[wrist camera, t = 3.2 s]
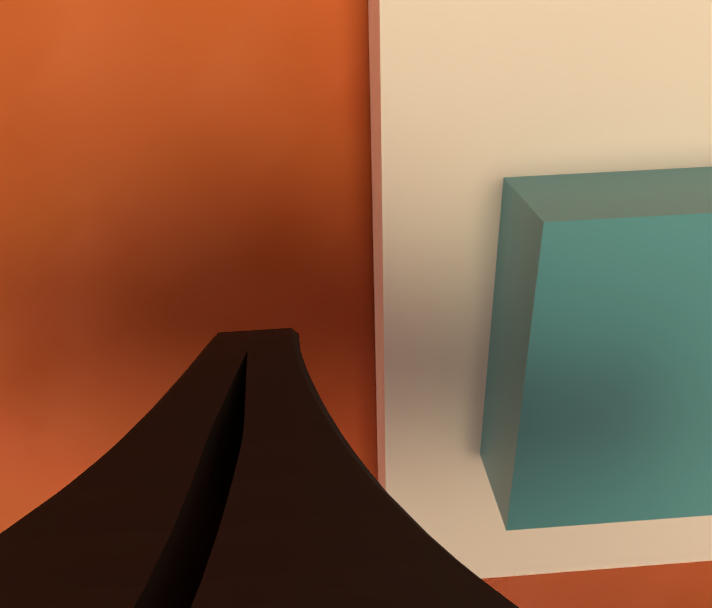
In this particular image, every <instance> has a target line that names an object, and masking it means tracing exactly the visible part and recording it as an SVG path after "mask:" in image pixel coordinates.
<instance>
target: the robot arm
mask: <svg viewBox="0 0 712 608" xmlns="http://www.w3.org/2000/svg"><path fill="white" fill-rule="evenodd" d="M0 608H519V607H517V606H516V605H515V604H513V603H512V602H511V601H509V600H508V599H507V598H505V597H504V596H503V595H501V594H500V593H499V592H497V591H496V590H495V589H493V588H492V587H491V586H489V585H488V584H487V583H485V582H484V581H483V580H482V579H480V578H479V577H478V576H477V575H476V574H474V573H473V572H472V571H471V570H469V569H468V568H467V567H466V566H464V565H463V564H462V563H461V562H459V561H458V560H457V559H456V558H455V557H454V556H453V555H452V554H450V553H449V552H448V551H447V550H446V549H445V548H444V547H442V546H441V545H440V544H439V543H438V542H437V541H436V540H435V539H433V538H432V537H431V536H430V535H429V534H428V533H427V532H426V531H425V530H424V529H423V528H422V527H421V526H420V525H419V524H418V523H417V522H416V521H415V520H414V519H413V518H412V517H411V516H410V515H409V514H408V513H407V512H406V511H405V510H404V509H403V508H402V507H401V506H400V505H399V504H398V503H397V502H396V501H395V500H394V499H393V498H392V497H391V496H390V495H389V494H388V493H387V491H386V490H385V489H384V488H383V487H382V486H381V484H380V483H379V482H378V481H377V480H376V479H375V477H374V476H373V475H372V474H371V473H370V471H369V470H368V469H367V468H366V466H365V465H364V464H363V463H362V461H361V460H360V459H359V457H358V456H357V455H356V453H355V452H354V451H353V449H352V448H351V447H350V445H349V444H348V442H347V441H346V439H345V438H344V436H343V435H342V434H341V432H340V430H339V429H338V427H337V426H336V424H335V422H334V421H333V419H332V418H331V416H330V414H329V413H328V411H327V409H326V407H325V406H324V404H323V402H322V400H321V398H320V396H319V394H318V392H317V390H316V388H315V386H314V384H313V382H312V380H311V378H310V376H309V373H308V371H307V369H306V366H305V363H304V360H303V358H302V354H301V351H300V342H299V334H298V333H297V332H296V331H295V330H293V329H292V328H285V329H269V330H253V331H237V332H221V333H218V334H217V335H216V336H215V337H214V338H213V339H212V340H211V342H210V343H209V344H208V345H207V346H206V347H205V349H204V350H203V351H202V352H201V353H200V355H199V356H198V357H197V358H196V359H195V361H194V362H193V363H192V364H191V365H190V366H189V368H188V369H187V370H186V371H185V372H184V374H183V375H182V376H181V377H180V378H179V379H178V380H177V382H176V383H175V384H174V385H173V386H172V387H171V388H170V389H169V391H168V392H167V393H166V394H165V395H164V396H163V397H162V398H161V399H160V401H159V402H158V403H157V404H156V405H155V406H154V407H153V408H152V409H151V410H150V411H149V412H148V413H147V414H146V415H145V416H144V417H143V418H142V419H141V420H140V421H139V422H138V423H137V424H136V425H135V426H134V427H133V428H132V429H131V430H130V431H129V432H128V433H127V434H126V435H125V436H124V437H123V438H122V439H121V440H120V441H119V442H118V443H117V444H116V445H115V446H114V447H113V448H111V449H110V450H109V451H108V452H107V453H106V454H105V455H103V456H102V457H101V458H100V459H99V460H98V461H97V462H95V463H94V464H93V465H92V466H90V467H89V468H88V469H87V470H86V471H84V472H83V473H82V474H81V475H79V476H78V477H77V478H76V479H75V480H73V481H72V482H71V483H70V484H68V485H67V486H66V487H65V488H63V489H62V490H61V491H59V492H58V493H57V494H55V495H54V496H53V497H51V498H50V499H48V500H47V501H46V502H44V503H43V504H41V505H40V506H39V507H37V508H36V509H34V510H33V511H32V512H30V513H29V514H27V515H26V516H25V517H23V518H22V519H20V520H19V521H18V522H16V523H15V524H13V525H12V526H10V527H9V528H8V529H6V530H5V531H3V532H2V533H1V534H0Z"/></svg>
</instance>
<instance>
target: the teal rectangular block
mask: <svg viewBox="0 0 712 608" xmlns="http://www.w3.org/2000/svg"><path fill="white" fill-rule="evenodd" d="M480 456H481V459H482V462H483V465H484V468H485V471H486V474H487V477H488V480H489V482H490V485H491V488H492V491H493V494H494V497H495V500H496V503H497V506H498V509H499V511H500V514H501V517H502V520H503V523H504V526H505V529H506V531H509V530H522V529H535V528H549V527H562V526H575V525H588V524H602V523H615V522H628V521H641V520H655V519H668V518H681V517H695V516H708V515H712V167H694V168H674V169H655V170H636V171H617V172H597V173H578V174H559V175H540V176H520V177H504V178H503V190H502V201H501V213H500V225H499V237H498V248H497V260H496V272H495V283H494V295H493V307H492V319H491V330H490V342H489V354H488V365H487V377H486V389H485V401H484V412H483V424H482V436H481V447H480Z"/></svg>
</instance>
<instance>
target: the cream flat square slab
mask: <svg viewBox="0 0 712 608" xmlns="http://www.w3.org/2000/svg"><path fill="white" fill-rule="evenodd" d="M368 16H369V64H370V112H371V161H372V209H373V257H374V306H375V354H376V403H377V451H378V482H379V483H380V484H381V486H382V487H383V488H384V489H385V490H386V491H387V493H388V494H389V495H390V496H391V497H392V498H393V499H394V500H395V501H396V502H397V503H398V504H399V505H400V506H401V507H402V508H403V509H404V510H405V511H406V512H407V513H408V514H409V515H410V516H411V517H412V518H413V519H414V520H415V521H416V522H417V523H418V524H419V525H420V526H421V527H422V528H423V529H424V530H425V531H426V532H427V533H428V534H429V535H430V536H431V537H432V538H433V539H435V540H436V541H437V542H438V543H439V544H440V545H441V546H442V547H444V548H445V549H446V550H447V551H448V552H449V553H450V554H452V555H453V556H454V557H455V558H456V559H457V560H458V561H459V562H461V563H462V564H463V565H464V566H466V567H467V568H468V569H469V570H471V571H472V572H473V573H474V574H476V575H477V576H478V577H479V578H480V579H482V578H495V577H507V576H520V575H533V574H546V573H559V572H571V571H584V570H597V569H610V568H622V567H635V566H648V565H661V564H673V563H686V562H699V561H712V515H708V516H695V517H681V518H668V519H655V520H641V521H628V522H615V523H602V524H588V525H575V526H562V527H549V528H535V529H522V530H509V531H506V529H505V526H504V523H503V520H502V517H501V514H500V511H499V509H498V506H497V503H496V500H495V497H494V494H493V491H492V488H491V485H490V482H489V480H488V477H487V474H486V471H485V468H484V465H483V462H482V459H481V456H480V447H481V436H482V424H483V412H484V401H485V389H486V377H487V365H488V354H489V342H490V330H491V319H492V307H493V295H494V283H495V272H496V260H497V248H498V237H499V225H500V213H501V201H502V190H503V178H504V177H520V176H540V175H559V174H578V173H597V172H617V171H636V170H655V169H674V168H694V167H712V0H368Z"/></svg>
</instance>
